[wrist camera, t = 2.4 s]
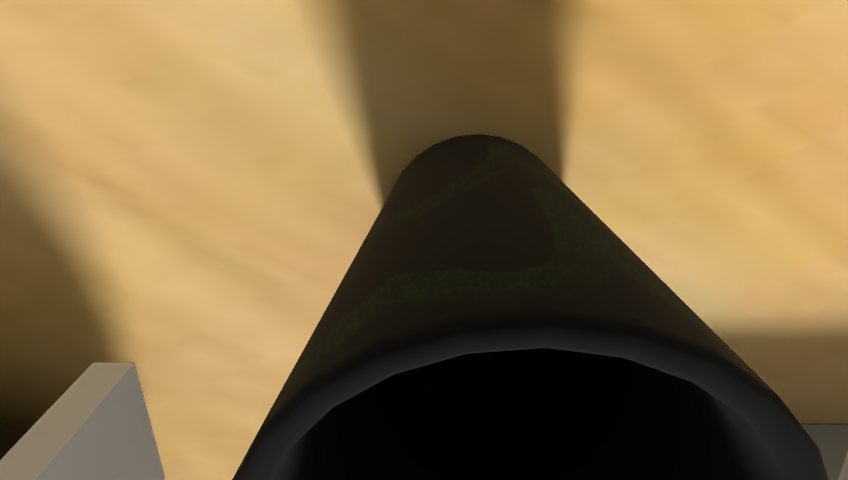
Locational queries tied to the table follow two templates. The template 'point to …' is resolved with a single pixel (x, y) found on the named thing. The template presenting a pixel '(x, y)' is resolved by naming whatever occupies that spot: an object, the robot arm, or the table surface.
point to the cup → (515, 350)
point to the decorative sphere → (8, 439)
